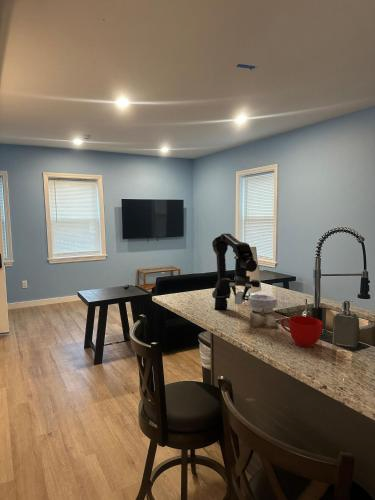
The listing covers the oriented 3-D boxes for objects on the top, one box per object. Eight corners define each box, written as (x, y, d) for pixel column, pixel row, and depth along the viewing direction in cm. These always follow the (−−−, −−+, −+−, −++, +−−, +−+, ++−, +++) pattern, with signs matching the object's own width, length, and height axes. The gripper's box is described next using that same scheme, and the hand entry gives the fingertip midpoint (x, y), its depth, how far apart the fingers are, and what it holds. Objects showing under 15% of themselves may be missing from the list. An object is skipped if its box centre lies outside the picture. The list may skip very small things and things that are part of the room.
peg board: (251, 326, 160) (252, 318, 159) (250, 315, 179) (250, 307, 178) (277, 328, 158) (278, 320, 158) (273, 317, 177) (273, 309, 177)
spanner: (234, 303, 164) (235, 295, 164) (237, 298, 175) (238, 291, 174) (241, 304, 163) (241, 296, 163) (244, 299, 174) (244, 291, 173)
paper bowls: (266, 306, 198) (266, 293, 197) (281, 313, 183) (282, 299, 183) (243, 308, 192) (243, 294, 192) (257, 316, 178) (258, 301, 177)
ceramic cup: (286, 334, 151) (287, 312, 150) (325, 344, 141) (327, 320, 140) (273, 341, 141) (275, 318, 140) (314, 353, 131) (316, 328, 130)
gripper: (221, 270, 161) (220, 302, 162) (261, 272, 158) (259, 304, 160) (222, 266, 172) (221, 296, 173) (259, 268, 169) (258, 299, 171)
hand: (239, 299), depth 169 cm, fingers closed on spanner, 3 cm apart
